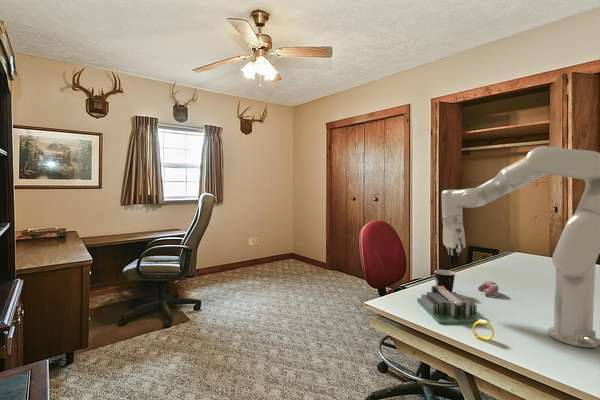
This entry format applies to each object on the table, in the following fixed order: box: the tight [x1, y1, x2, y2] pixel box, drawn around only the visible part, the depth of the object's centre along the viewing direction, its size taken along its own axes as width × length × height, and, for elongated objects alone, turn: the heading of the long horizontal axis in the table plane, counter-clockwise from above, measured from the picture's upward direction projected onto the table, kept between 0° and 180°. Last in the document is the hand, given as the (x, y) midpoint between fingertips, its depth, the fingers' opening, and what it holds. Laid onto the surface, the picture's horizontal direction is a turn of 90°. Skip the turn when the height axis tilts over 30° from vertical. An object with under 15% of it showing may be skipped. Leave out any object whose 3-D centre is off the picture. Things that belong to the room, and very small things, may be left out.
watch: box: [471, 319, 495, 341], centre depth 102 cm, size 6×3×6 cm, turn 55°
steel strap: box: [435, 285, 464, 306], centre depth 124 cm, size 18×3×1 cm, turn 179°
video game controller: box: [477, 280, 499, 298], centre depth 145 cm, size 10×5×7 cm, turn 169°
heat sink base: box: [416, 285, 487, 325], centre depth 124 cm, size 22×17×7 cm
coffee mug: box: [434, 269, 456, 292], centre depth 144 cm, size 12×9×10 cm
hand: (453, 264), depth 128 cm, fingers closed
